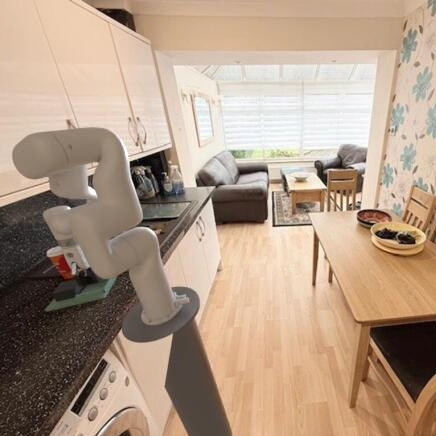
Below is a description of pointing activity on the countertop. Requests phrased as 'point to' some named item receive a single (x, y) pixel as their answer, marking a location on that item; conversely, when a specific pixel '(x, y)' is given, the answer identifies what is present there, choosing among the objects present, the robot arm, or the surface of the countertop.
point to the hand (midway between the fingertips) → (92, 277)
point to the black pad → (92, 275)
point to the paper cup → (60, 262)
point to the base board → (85, 295)
